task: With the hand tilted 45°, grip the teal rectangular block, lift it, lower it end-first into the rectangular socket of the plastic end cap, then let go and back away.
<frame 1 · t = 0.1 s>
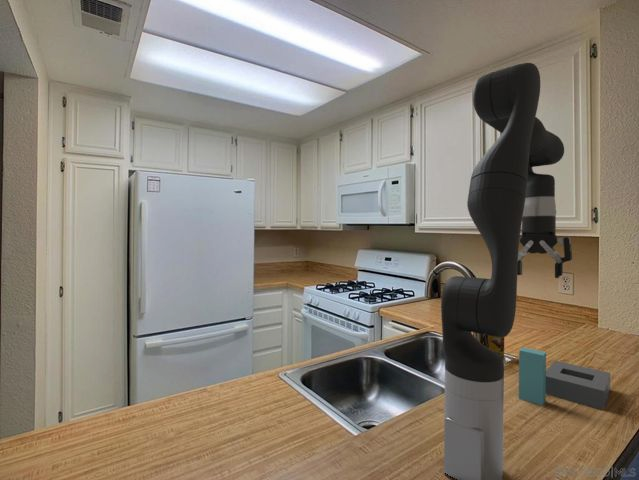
hand: (537, 276, 90), 29 cm above the countertop, tool pointing down, fingers open, 8 cm apart
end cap: (576, 391, 87), on the countertop
teal rectangular block: (532, 400, 83), on the countertop
condiment: (490, 357, 111), on the countertop
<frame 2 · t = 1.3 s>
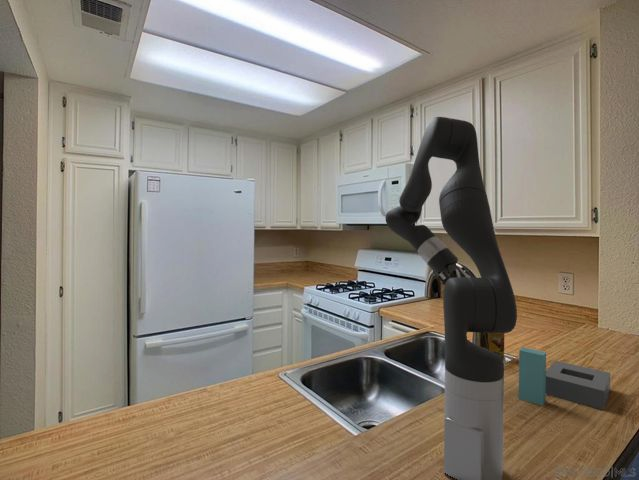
hand: (477, 300, 91), 23 cm above the countertop, tool tilted 45°, fingers open, 8 cm apart
nothing on the countertop moved.
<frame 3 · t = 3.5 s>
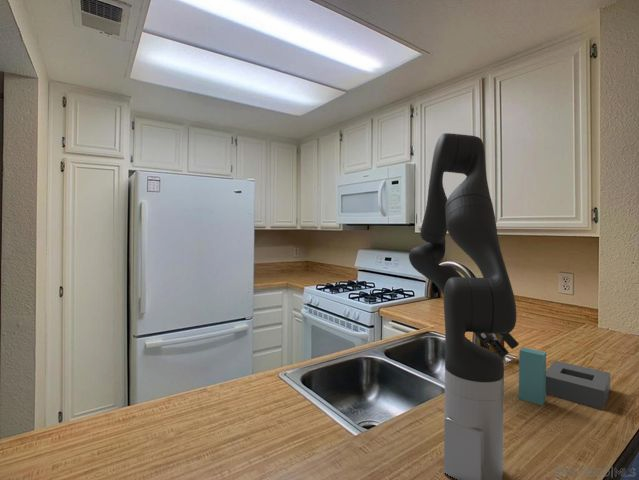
hand: (510, 351, 86), 11 cm above the countertop, tool tilted 45°, fingers open, 8 cm apart
nothing on the countertop moved.
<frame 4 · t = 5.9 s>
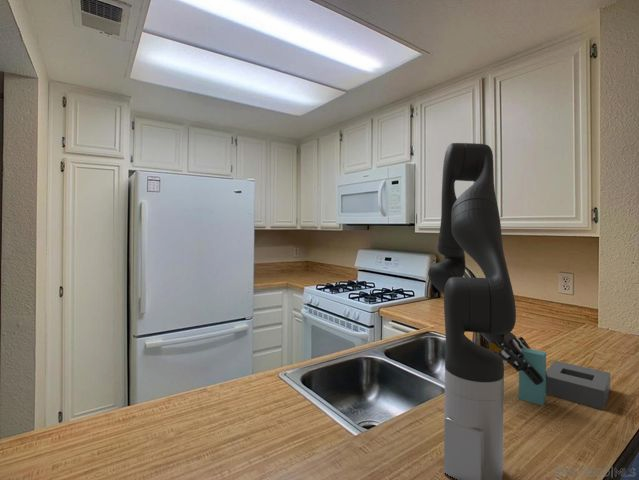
hand: (542, 380, 81), 5 cm above the countertop, tool tilted 45°, fingers closed on teal rectangular block, 3 cm apart
teal rectangular block: (532, 400, 83), on the countertop, touching gripper
everything else where it was.
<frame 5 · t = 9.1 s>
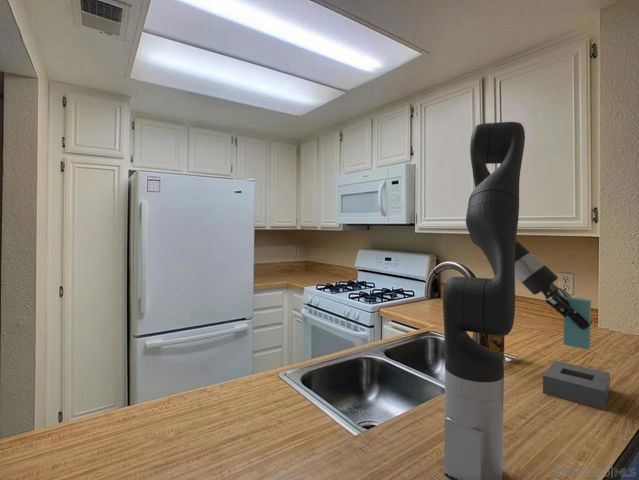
hand: (587, 325, 85), 17 cm above the countertop, tool tilted 45°, fingers closed on teal rectangular block, 3 cm apart
teal rectangular block: (576, 345, 87), point 12 cm above the countertop, touching gripper
everything else where it was.
when the fingers open (7 cm above the countertop, at t = 12.1 s): teal rectangular block drops 1 cm, resting in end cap.
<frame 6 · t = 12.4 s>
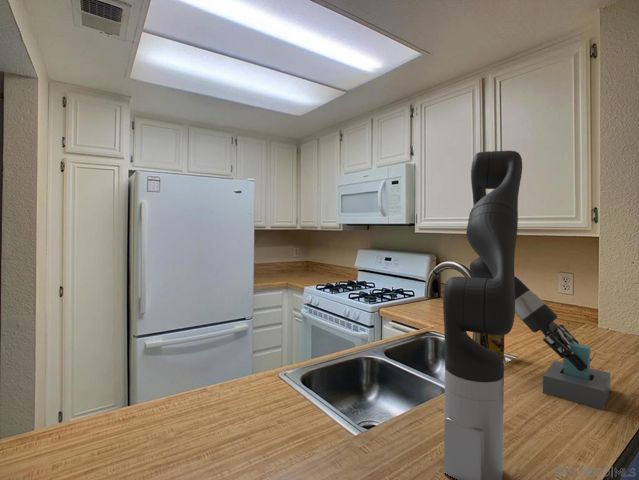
hand: (586, 365, 86), 7 cm above the countertop, tool tilted 45°, fingers open, 5 cm apart
teal rectangular block: (576, 391, 87), resting in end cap
everything else where it was.
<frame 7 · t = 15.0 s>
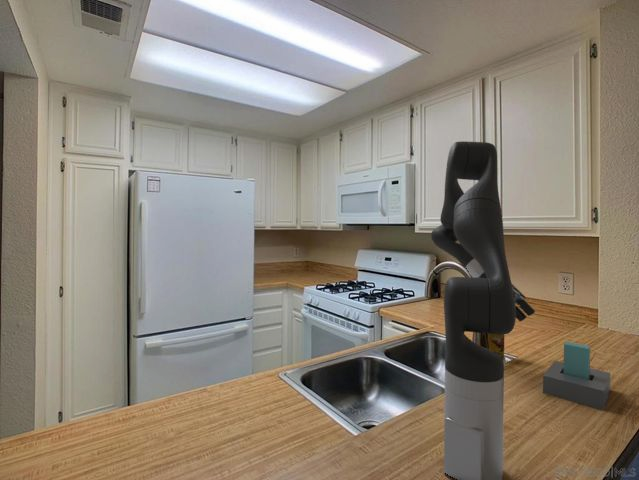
hand: (528, 316, 94), 17 cm above the countertop, tool tilted 45°, fingers open, 8 cm apart
nothing on the countertop moved.
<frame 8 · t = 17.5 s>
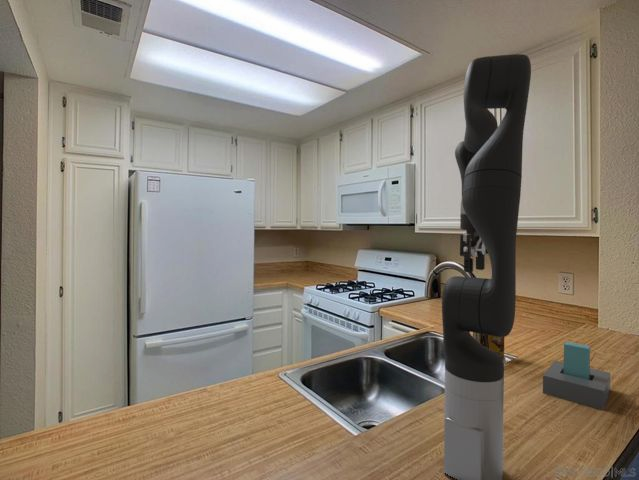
hand: (474, 270, 95), 30 cm above the countertop, tool pointing down, fingers open, 8 cm apart
nothing on the countertop moved.
at the end: teal rectangular block 0.1 cm off-centre on the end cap, point 0.0 cm above the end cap's base; teal rectangular block tilted 0°; the gripper is holding nothing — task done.
